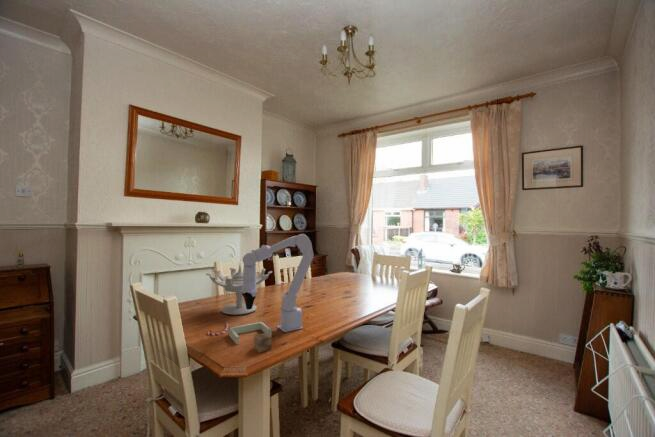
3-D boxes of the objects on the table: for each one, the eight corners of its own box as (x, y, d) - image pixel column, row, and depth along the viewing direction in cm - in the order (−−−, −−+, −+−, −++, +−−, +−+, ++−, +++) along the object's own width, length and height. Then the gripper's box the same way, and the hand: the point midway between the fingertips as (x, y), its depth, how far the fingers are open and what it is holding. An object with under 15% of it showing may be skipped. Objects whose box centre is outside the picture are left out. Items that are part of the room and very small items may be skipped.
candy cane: (234, 322, 141) (222, 334, 126) (234, 324, 141) (221, 337, 126) (218, 321, 141) (204, 333, 126) (218, 324, 141) (204, 336, 126)
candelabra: (277, 316, 152) (278, 264, 152) (204, 324, 139) (205, 267, 139) (266, 299, 184) (266, 256, 184) (205, 305, 171) (206, 258, 171)
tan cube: (266, 345, 118) (266, 332, 118) (271, 349, 114) (271, 336, 114) (254, 347, 115) (254, 335, 115) (259, 352, 111) (259, 339, 111)
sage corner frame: (261, 328, 136) (261, 321, 136) (271, 336, 126) (271, 329, 126) (228, 334, 127) (228, 328, 127) (236, 344, 118) (236, 336, 118)
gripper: (236, 277, 138) (235, 306, 138) (246, 282, 126) (245, 314, 126) (250, 275, 142) (250, 304, 142) (261, 281, 130) (261, 312, 130)
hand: (249, 308), depth 134 cm, fingers closed
